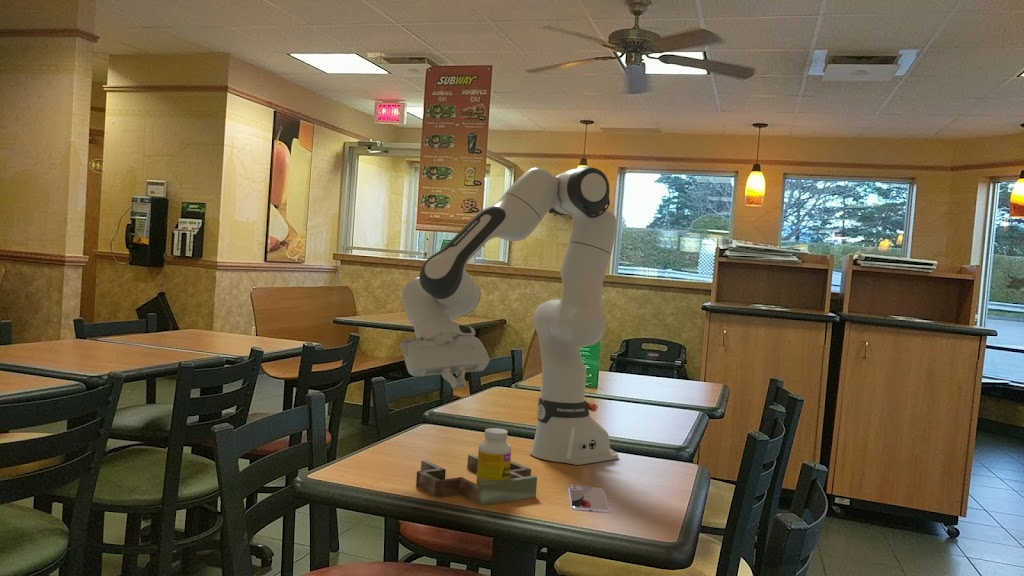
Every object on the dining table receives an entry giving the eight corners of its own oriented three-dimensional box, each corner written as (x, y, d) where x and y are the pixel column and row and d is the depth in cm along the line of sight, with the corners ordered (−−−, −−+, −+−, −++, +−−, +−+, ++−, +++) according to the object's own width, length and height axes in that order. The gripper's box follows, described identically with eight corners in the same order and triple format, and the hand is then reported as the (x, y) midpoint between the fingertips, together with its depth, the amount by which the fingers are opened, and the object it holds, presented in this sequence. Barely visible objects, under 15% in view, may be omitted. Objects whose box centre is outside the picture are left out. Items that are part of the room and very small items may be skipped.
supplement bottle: (504, 500, 143) (508, 435, 142) (471, 496, 144) (476, 432, 144) (511, 490, 149) (515, 429, 149) (480, 486, 150) (484, 425, 150)
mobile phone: (571, 506, 140) (568, 484, 155) (570, 511, 140) (567, 488, 155) (610, 509, 139) (603, 486, 154) (610, 514, 139) (603, 491, 154)
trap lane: (400, 477, 153) (401, 458, 153) (489, 465, 168) (490, 448, 168) (459, 509, 135) (461, 488, 135) (554, 493, 149) (555, 474, 149)
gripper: (402, 330, 158) (424, 381, 151) (479, 327, 171) (502, 374, 163) (392, 348, 162) (413, 399, 154) (468, 344, 174) (490, 391, 167)
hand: (459, 386), depth 159 cm, fingers closed
